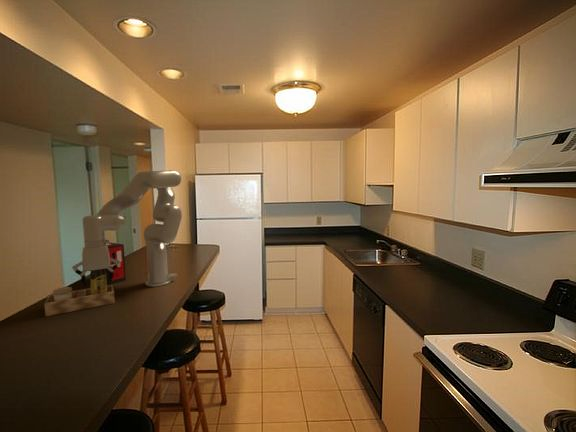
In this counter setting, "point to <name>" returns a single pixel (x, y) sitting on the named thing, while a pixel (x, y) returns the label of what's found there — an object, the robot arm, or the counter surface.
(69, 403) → the counter surface
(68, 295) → the jar
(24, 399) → the counter surface
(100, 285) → the sauce bottle
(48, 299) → the caddy
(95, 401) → the counter surface
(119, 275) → the cleaning product box
